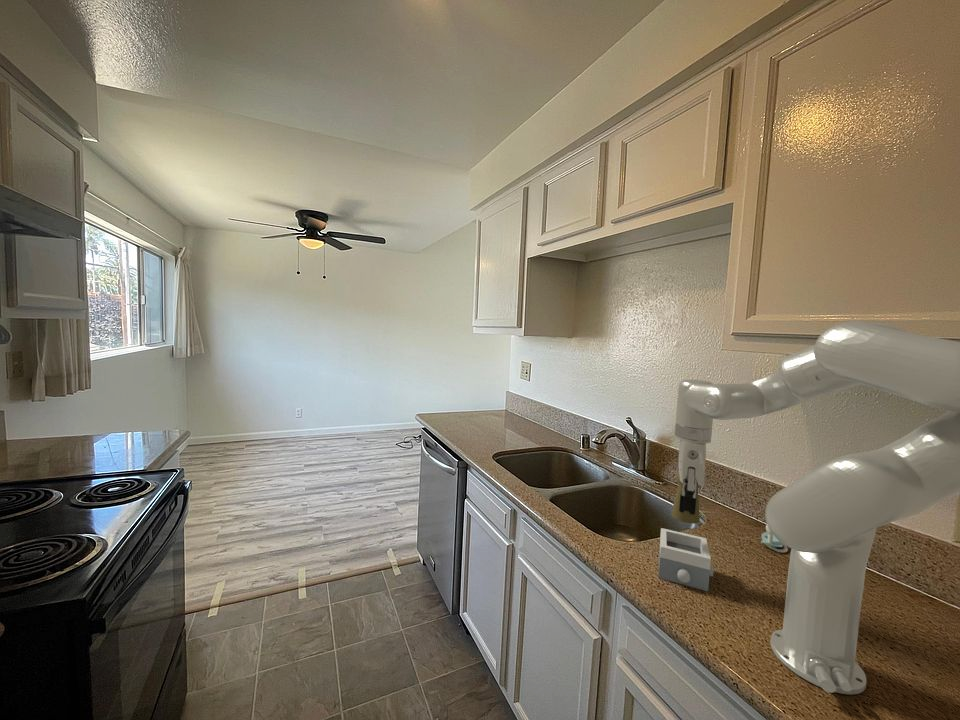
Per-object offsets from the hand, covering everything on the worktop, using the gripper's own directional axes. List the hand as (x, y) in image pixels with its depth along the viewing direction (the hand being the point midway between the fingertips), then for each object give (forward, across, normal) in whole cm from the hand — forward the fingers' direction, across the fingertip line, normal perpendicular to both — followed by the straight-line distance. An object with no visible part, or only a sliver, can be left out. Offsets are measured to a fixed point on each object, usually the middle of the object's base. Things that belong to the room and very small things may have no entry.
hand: (686, 508), depth 91 cm
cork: (+2, 0, 0) cm, 2 cm away
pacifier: (+16, +26, -24) cm, 39 cm away
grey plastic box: (+16, 0, 0) cm, 16 cm away
